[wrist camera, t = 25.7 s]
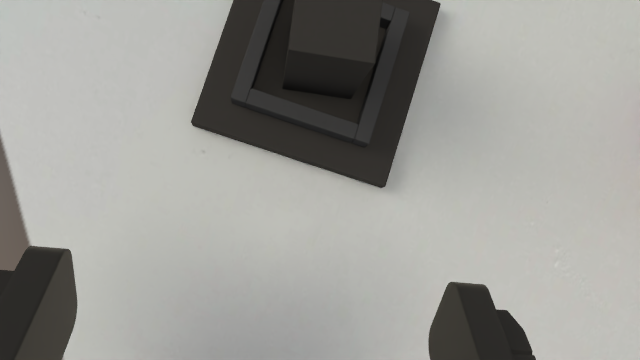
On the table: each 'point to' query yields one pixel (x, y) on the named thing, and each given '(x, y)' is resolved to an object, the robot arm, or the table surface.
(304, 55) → the black block
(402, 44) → the base pad
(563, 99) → the table surface
